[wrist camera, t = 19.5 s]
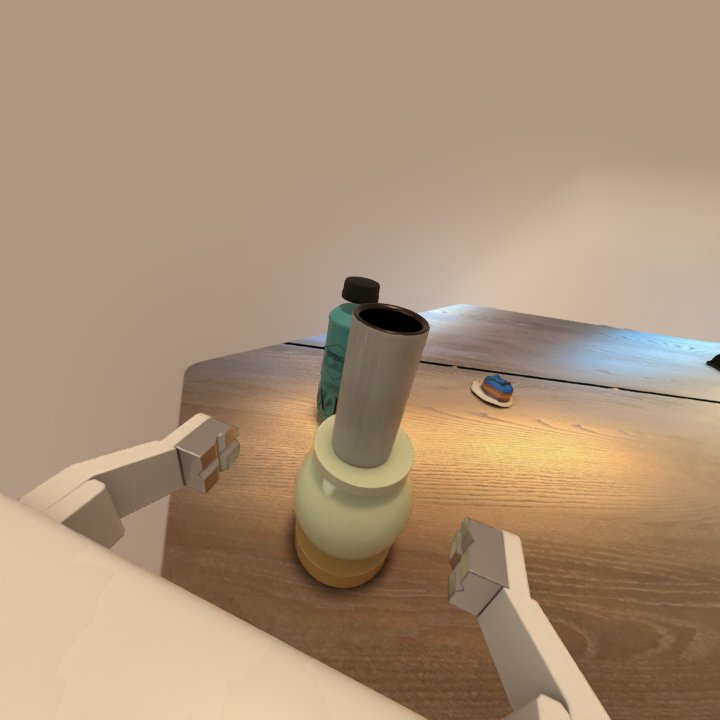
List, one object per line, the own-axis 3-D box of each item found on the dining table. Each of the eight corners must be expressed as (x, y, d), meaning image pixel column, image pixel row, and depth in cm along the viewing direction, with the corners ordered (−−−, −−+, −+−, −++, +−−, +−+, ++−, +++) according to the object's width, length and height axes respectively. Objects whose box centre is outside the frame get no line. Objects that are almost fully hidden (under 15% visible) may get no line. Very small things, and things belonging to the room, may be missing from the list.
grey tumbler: (332, 420, 24) (352, 298, 19) (387, 425, 24) (420, 308, 19) (329, 466, 20) (353, 327, 15) (395, 471, 20) (439, 339, 15)
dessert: (524, 409, 51) (515, 381, 48) (485, 421, 52) (476, 395, 50) (505, 385, 58) (497, 360, 56) (472, 397, 59) (463, 373, 57)
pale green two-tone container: (401, 598, 24) (446, 510, 18) (278, 592, 23) (284, 498, 17) (387, 490, 33) (415, 407, 27) (297, 483, 32) (306, 395, 26)
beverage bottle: (322, 399, 45) (340, 267, 35) (364, 410, 44) (394, 279, 34) (307, 427, 39) (324, 279, 29) (356, 440, 39) (388, 294, 29)
